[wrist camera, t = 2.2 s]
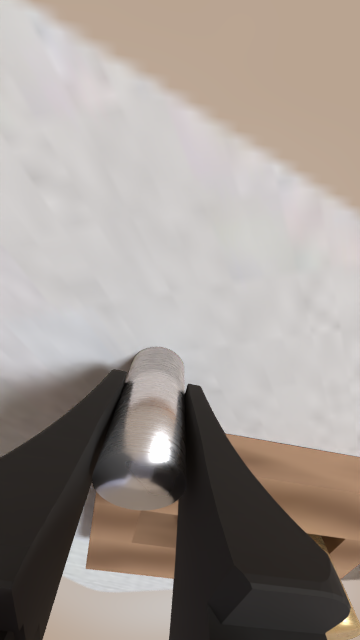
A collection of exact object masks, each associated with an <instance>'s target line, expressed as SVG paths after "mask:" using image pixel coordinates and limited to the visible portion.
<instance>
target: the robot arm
mask: <svg viewBox="0 0 360 640" xmlns="http://www.w3.org/2000/svg"><path fill="white" fill-rule="evenodd" d="M126 373H127V372H125V371H120V370H115V369H114V370H112V371H111V372H110V373H109V374H108V375H107V377H106V378H105V379H104V380H103V381H102V382H101V383H100V384H99V385H98V386H97V387H96V388H95V389H94V390H93V391H92V392H91V393H90V394H89V395H87V396H86V397H85V398H84V399H83V400H82V401H81V402H80V403H78V404H77V405H76V406H75V407H74V408H72V409H71V410H70V411H69V412H68V413H66V414H65V415H64V416H63V417H61V418H60V419H59V420H57V421H56V422H55V423H53V424H52V425H51V426H49V427H48V428H46V429H45V430H44V431H42V432H41V433H39V434H38V435H36V436H35V437H33V438H32V439H30V440H29V441H27V442H26V443H24V444H22V445H21V446H19V447H18V448H16V449H14V450H13V451H11V452H9V453H8V454H6V455H4V456H2V457H1V458H0V640H42V639H43V636H44V633H45V629H46V626H47V623H48V619H49V616H50V612H51V610H52V606H53V603H54V600H55V596H56V593H57V590H58V587H59V583H60V580H61V577H62V574H63V570H64V567H65V564H66V561H67V558H68V554H69V551H70V548H71V545H72V541H73V538H74V535H75V532H76V529H77V526H78V523H79V519H80V516H81V513H82V510H83V507H84V504H85V501H86V498H87V495H88V492H89V488H90V485H91V483H92V475H93V471H94V469H95V466H96V463H97V460H98V457H99V455H100V452H101V449H102V446H103V443H104V440H105V438H106V435H107V432H108V429H109V426H110V424H111V421H112V418H113V415H114V412H115V409H116V407H117V404H118V401H119V399H120V396H121V393H122V390H123V387H124V384H125V379H126ZM185 445H186V488H185V491H184V493H183V495H182V496H181V497H180V498H179V499H178V520H177V538H176V555H175V569H174V584H173V598H172V610H171V623H170V636H169V640H327V637H326V634H325V633H326V632H328V631H329V630H331V629H332V628H334V627H335V626H337V625H338V624H340V623H341V622H343V621H344V620H345V619H346V618H347V617H348V615H349V613H350V609H351V606H350V603H349V600H348V598H347V596H346V593H345V591H344V589H343V586H342V584H341V582H340V579H339V577H338V575H337V573H336V571H335V568H334V566H333V564H332V562H331V560H330V558H329V556H328V554H327V553H326V552H325V551H324V550H323V549H322V548H321V547H320V546H319V545H318V544H317V543H316V542H315V541H314V540H313V539H312V538H311V537H310V536H309V535H308V534H307V533H306V532H305V531H304V530H303V529H302V528H301V527H300V526H299V525H298V524H296V522H295V521H294V520H293V519H292V518H291V517H290V516H289V515H288V514H287V513H286V512H285V511H284V510H283V509H282V507H281V506H280V505H279V504H278V503H277V502H276V501H275V500H274V499H273V497H272V496H271V495H270V494H269V493H268V492H267V490H266V489H265V488H264V487H263V486H262V484H261V483H260V482H259V481H258V480H257V478H256V477H255V476H254V475H253V473H252V472H251V471H250V470H249V468H248V467H247V466H246V464H245V463H244V462H243V460H242V459H241V457H240V456H239V455H238V453H237V452H236V450H235V449H234V447H233V446H232V444H231V442H230V441H229V439H228V438H227V436H226V434H225V433H224V431H223V429H222V428H221V426H220V424H219V422H218V420H217V419H216V417H215V415H214V413H213V411H212V409H211V407H210V405H209V403H208V401H207V399H206V397H205V395H204V393H203V390H202V388H201V387H200V386H197V385H192V384H188V386H187V389H186V392H185Z"/></svg>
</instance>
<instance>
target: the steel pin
mask: <svg viewBox="0 0 360 640" xmlns="http://www.w3.org/2000/svg"><path fill="white" fill-rule="evenodd" d="M92 483H93V486H94V488H95V490H96V492H97V493H98V494H99V495H100V496H101V497H102V498H104V499H105V500H106V501H108V502H110V503H112V504H114V505H116V506H119V507H122V508H126V509H131V510H155V509H160V508H163V507H166V506H169V505H171V504H173V503H174V502H176V501H177V500H178V499H179V498H180V497H181V496H182V495H183V493H184V491H185V488H186V445H185V386H184V365H183V362H182V360H181V358H180V357H179V356H178V355H177V354H176V353H175V352H173V351H172V350H170V349H167V348H163V347H150V348H147V349H144V350H142V351H141V352H139V353H138V354H137V355H136V356H135V358H134V359H133V362H132V364H131V367H130V370H129V373H128V376H127V378H126V381H125V384H124V387H123V390H122V393H121V396H120V399H119V401H118V404H117V407H116V409H115V412H114V415H113V418H112V421H111V424H110V426H109V429H108V432H107V435H106V438H105V440H104V443H103V446H102V449H101V452H100V455H99V457H98V460H97V463H96V466H95V469H94V471H93V475H92Z"/></svg>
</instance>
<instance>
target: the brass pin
mask: <svg viewBox="0 0 360 640" xmlns="http://www.w3.org/2000/svg"><path fill="white" fill-rule="evenodd" d="M307 534H308V533H307ZM308 535H309V536H310V537H311V538H312V539H313V540H314V541H315V542H316V543H317V544H318V545H319V546H320V547H321V548H322V549H323V550H324V551H325V552H326V553H327V554H328V556H329V558H330V560H331V562H332V559H331V557H330V555H329V553H328V550H327V548H326V546H325V544H324V541H323V539H322V537H321V535H315V534H308ZM332 564H333V562H332ZM333 566H334V564H333ZM334 568H335V566H334ZM335 571H336V568H335ZM336 573H337V571H336ZM337 575H338V573H337ZM338 577H339V575H338ZM339 579H340V578H339ZM340 582H341V580H340ZM341 584H342V582H341ZM342 586H343V584H342ZM343 589H344V587H343ZM344 591H345V589H344ZM345 593H346V591H345ZM346 596H347V594H346ZM347 598H348V596H347ZM348 600H349V598H348ZM349 603H350V606H351V609H350V613H349V615H348V617H347V618H346V619H345V620H344V621H343V622H341V623H340V624H338V625H337V626H335V627H334V628H332V629H331V630H329V631H328V632H326V633H325V634H326V637H327V640H348V639H352V638H355V637H357V636H359V635H360V623H359V620H358V618H357V616H356V614H355V611H354V609H353V607H352V605H351V602H350V600H349Z"/></svg>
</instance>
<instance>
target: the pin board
mask: <svg viewBox="0 0 360 640" xmlns="http://www.w3.org/2000/svg"><path fill="white" fill-rule="evenodd" d="M226 436H227V438H228V439H229V441H230V442H231V444H232V446H233V447H234V449H235V450H236V452H237V453H238V455H239V456H240V457H241V459H242V460H243V462H244V463H245V464H246V466H247V467H248V468H249V470H250V471H251V472H252V473H253V475H254V476H255V477H256V478H257V480H258V481H259V482H260V483H261V484H262V486H263V487H264V488H265V489H266V490H267V492H268V493H269V494H270V495H271V496H272V497H273V499H274V500H275V501H276V502H277V503H278V504H279V505H280V506H281V507H282V509H283V510H284V511H285V512H286V513H287V514H288V515H289V516H290V517H291V518H292V519H293V520H294V521H295V522H296V524H298V525H299V526H300V527H301V528H302V529H303V530H304V531H305V532H306V533H308V534H315V535H321V537H322V539H323V541H324V544H325V546H326V548H327V550H328V553H329V555H330V557H331V559H332V562H333V564H334V566H335V568H336V571H337V573H338V575H339V578H340V579H341V578H343V577H344V576H345V575H346V574H348V573H349V572H350V571H351V570H353V569H354V568H355V567H356V566H357V565H359V564H360V457H354V456H349V455H343V454H337V453H332V452H326V451H320V450H315V449H309V448H303V447H298V446H292V445H286V444H281V443H275V442H269V441H264V440H258V439H252V438H247V437H241V436H235V435H230V434H226ZM177 520H178V500H177V501H176V502H174V503H173V504H171V505H169V506H166V507H163V508H160V509H155V510H131V509H126V508H122V507H119V506H116V505H114V504H112V503H110V502H108V501H106V500H105V499H104V498H102V497H101V496H100V495H99V494H98V493H97V492H96V497H95V504H94V511H93V519H92V526H91V533H90V540H89V548H88V555H87V562H86V569H93V570H102V571H111V572H120V573H128V574H137V575H146V576H155V577H163V578H172V579H174V569H175V555H176V538H177Z"/></svg>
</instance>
